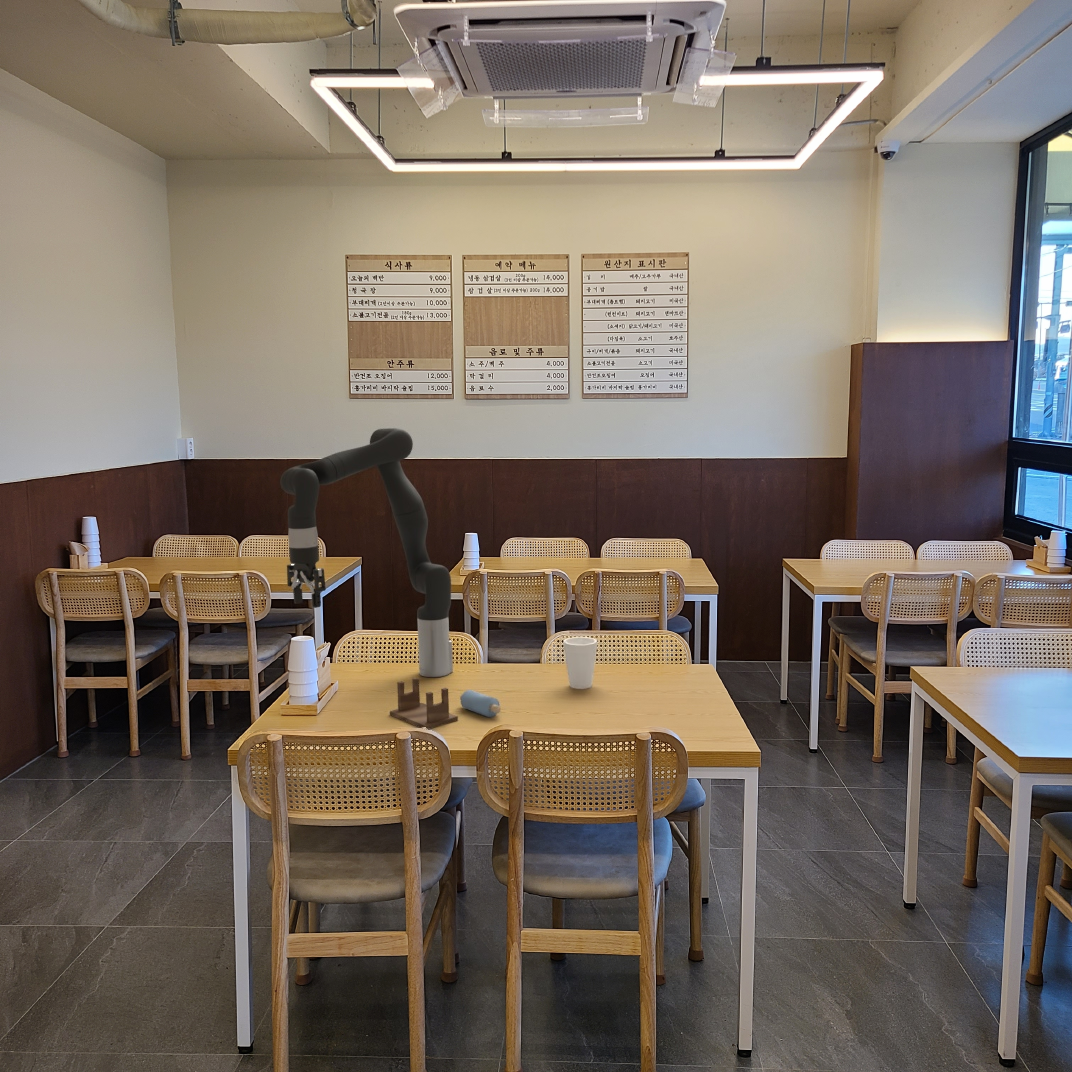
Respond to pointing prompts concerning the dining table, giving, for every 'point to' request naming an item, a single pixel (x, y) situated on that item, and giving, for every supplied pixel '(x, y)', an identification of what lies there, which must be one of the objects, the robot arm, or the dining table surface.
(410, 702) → the roll holder
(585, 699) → the dining table surface
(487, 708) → the towel roll
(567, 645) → the foam cup
